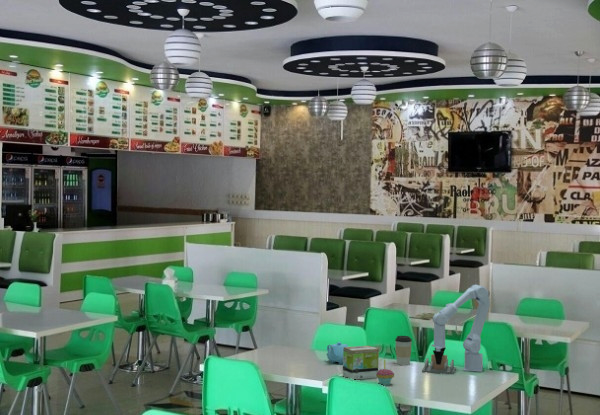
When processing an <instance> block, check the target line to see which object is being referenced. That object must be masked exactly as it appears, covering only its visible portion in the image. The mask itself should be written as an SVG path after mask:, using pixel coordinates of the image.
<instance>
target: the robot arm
mask: <svg viewBox="0 0 600 415" xmlns="http://www.w3.org/2000/svg"><path fill="white" fill-rule="evenodd" d="M489 295H490V292H489V290H488V289H487V288H486V287H485V286H483V285H479V284H472V285H471V286H470V287H468V288H467V289H466V290H465V291H464V292H463V293H462V294H461V295H460V296H459V297H458V298H457V299H456V300H455V301H454V302H453V303H451V302H449V303H447V304H445V307H444V308H442V309H441V310H439V311H438V312H437V313H435V314H434V315H433V317H432V322H433V324H434V325H433V344H431V347H433V348H434V349H433V350H432V352H433V354H434V355H435V359H436V364H438V365H441V361H442V356H443V355H445V351H446V324H447V323H448V320H449V319H450V318H452V317H453V316H454V315H455V314H457V312H458V308H460V307H461V306H462V305H464V304H465V303H466V302H468V301H469V300H473V299H475V300H476V302H477V304H478V306H477V309H476V313H475V316H474V319H473V322H472V326H471V329H470V332H469V333H468V334H467V336H466V338H465V339H464V341H463V342H462V346H463V348H464V366H463V368H462V369H463V371H465V372H466V371H467V372H479V373H480V372H481V373H482V372H483V369H484V364H483V360H484V359H483V358H484V356H483V355H484V353H480V351H481V349H482V348H481V347H482V346H481V342H482V340H481V336H482V331H483V328H484V325H485V322H486V319H487V316H488V312H489V309H490V305H491V301H490V300H491V299H490V296H489Z"/></svg>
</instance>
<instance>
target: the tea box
mask: <svg viewBox="0 0 600 415" xmlns="http://www.w3.org/2000/svg"><path fill="white" fill-rule="evenodd" d="M379 355H380V352H379V348H377V347H374V346H371V345H358V346H348V347H344V348H343V362H342V363H343V364H342V377H343V376H344V378H346V377H348V378H352V379H356V380H365V379H366V380H367V379H378V377H377V376H376V374H377V372H378V371H379V357H380V356H379ZM348 378H347V379H348Z"/></svg>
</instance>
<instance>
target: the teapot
mask: <svg viewBox="0 0 600 415" xmlns="http://www.w3.org/2000/svg"><path fill="white" fill-rule="evenodd" d="M344 347H349V346H348V344H347V343H344V344H343V343H342V342H341V341H338V342H336V343H333V344H332V343H331V344H328V345H327V346H326V350H327V353H326V357H327V360H328V361H329V362H331V363H330V364H334V363H336V362H337V363H338V365H343V348H344Z"/></svg>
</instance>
